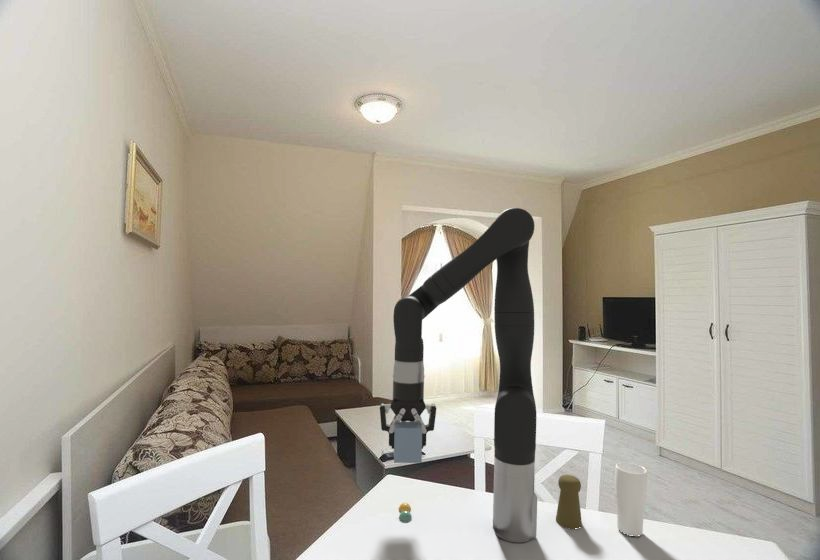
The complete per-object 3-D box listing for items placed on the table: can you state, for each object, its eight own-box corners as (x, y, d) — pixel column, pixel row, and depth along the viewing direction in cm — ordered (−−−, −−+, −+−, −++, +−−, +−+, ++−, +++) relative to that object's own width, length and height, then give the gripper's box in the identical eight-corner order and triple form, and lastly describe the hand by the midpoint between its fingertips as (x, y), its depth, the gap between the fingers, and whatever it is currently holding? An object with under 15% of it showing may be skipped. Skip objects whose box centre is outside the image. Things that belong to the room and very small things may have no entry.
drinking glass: (650, 542, 97) (651, 475, 97) (618, 537, 99) (619, 472, 99) (640, 525, 104) (641, 463, 104) (610, 521, 105) (611, 460, 105)
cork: (581, 518, 107) (581, 473, 107) (583, 531, 101) (584, 484, 101) (555, 513, 108) (556, 470, 109) (555, 526, 103) (557, 480, 103)
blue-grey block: (393, 448, 108) (394, 416, 108) (419, 448, 109) (419, 416, 109) (394, 462, 99) (394, 428, 100) (421, 462, 100) (422, 428, 100)
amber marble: (410, 512, 107) (410, 500, 107) (411, 518, 104) (411, 506, 104) (398, 512, 107) (398, 500, 107) (398, 518, 104) (399, 506, 104)
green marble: (411, 520, 103) (411, 508, 104) (411, 527, 100) (412, 514, 101) (398, 520, 103) (399, 508, 103) (399, 527, 100) (399, 514, 100)
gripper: (436, 375, 108) (435, 442, 108) (379, 375, 108) (377, 441, 107) (439, 382, 101) (438, 453, 101) (378, 381, 100) (376, 453, 100)
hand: (407, 447), depth 104 cm, fingers closed on blue-grey block, 6 cm apart
